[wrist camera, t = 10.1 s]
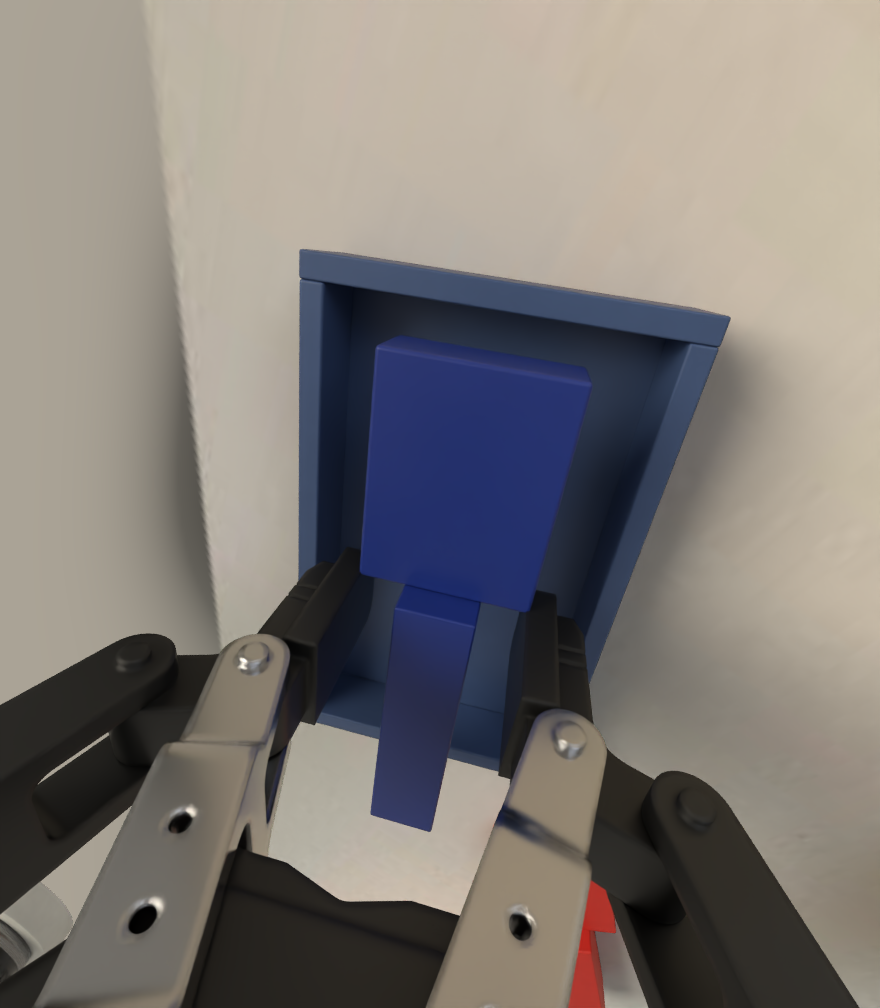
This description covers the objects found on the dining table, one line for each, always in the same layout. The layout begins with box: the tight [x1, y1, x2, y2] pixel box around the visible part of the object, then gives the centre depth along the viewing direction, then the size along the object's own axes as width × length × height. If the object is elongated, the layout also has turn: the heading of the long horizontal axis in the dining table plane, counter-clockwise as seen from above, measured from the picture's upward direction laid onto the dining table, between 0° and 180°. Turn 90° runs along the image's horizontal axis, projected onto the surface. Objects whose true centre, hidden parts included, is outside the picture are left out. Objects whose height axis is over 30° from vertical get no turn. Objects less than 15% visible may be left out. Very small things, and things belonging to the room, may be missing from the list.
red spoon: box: [568, 881, 616, 1008], centre depth 22 cm, size 13×4×2 cm, turn 13°
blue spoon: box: [360, 335, 593, 832], centre depth 12 cm, size 13×4×2 cm, turn 172°
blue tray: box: [299, 249, 730, 772], centre depth 15 cm, size 15×9×2 cm, turn 172°
